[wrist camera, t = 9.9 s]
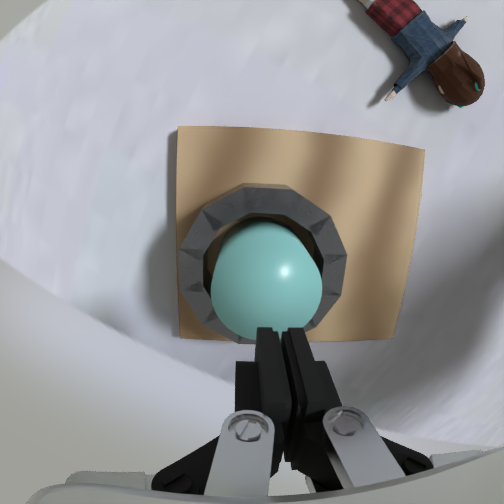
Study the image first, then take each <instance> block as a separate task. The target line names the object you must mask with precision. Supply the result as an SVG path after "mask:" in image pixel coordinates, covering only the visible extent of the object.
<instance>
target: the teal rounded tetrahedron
mask: <svg viewBox="0 0 504 504" xmlns="http://www.w3.org/2000/svg"><path fill="white" fill-rule="evenodd" d="M321 296H322V280H321V276H320V273H319V270H318V268H317V266H316V264H315V263H314V261H313V259H312V258H311V256H310V255H309V253H308V252H307V250H306V249H305V247H304V246H303V244H302V243H301V241H300V240H299V238H298V236H297V235H296V234H295V232H294V231H293V230H292V229H291V228H290V227H289V226H288V225H286V224H285V223H283V222H281V221H280V220H277V219H274V218H270V217H252V218H248V219H245V220H243V221H241V222H239V223H238V224H236V225H235V226H233V227H232V228H231V229H230V230H229V231H228V232H227V234H226V235H225V236H224V238H223V240H222V242H221V245H220V248H219V253H218V257H217V261H216V266H215V270H214V274H213V279H212V283H211V300H212V304H213V307H214V310H215V312H216V314H217V316H218V317H219V319H220V320H221V321H222V323H223V324H224V325H225V326H226V327H227V328H229V329H230V330H231V331H233V332H234V333H236V334H238V335H240V336H242V337H245V338H248V339H252V340H256V333H257V327H272V328H273V331H278V333H279V338H280V339H281V335H282V331H287V329H288V327H304V326H305V325H306V324H307V323H308V322H309V321H310V320H311V318H312V317H313V316H314V314H315V313H316V311H317V309H318V306H319V304H320V301H321Z"/></svg>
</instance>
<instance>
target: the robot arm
mask: <svg viewBox="0 0 504 504" xmlns="http://www.w3.org/2000/svg"><path fill="white" fill-rule="evenodd" d="M283 452H284V459H285V462H291V468H292V470H298V471H300V472H301V473H303V474H305V475H306V476H305V480H306V484H307V486H308V489H309V492H310V494H300V495H287V496H286V495H285V496H268V491H269V481H270V478H271V477H272V476H273V475H274V474H275V473H277V472H278V468H279V463H280V462H281V459H282V454H283ZM26 504H504V447H501V448H495V449H492V450H488V451H484V452H483V451H481V450H471V451H463V452H454V453H445V454H433V455H431V456H430V458H428V457H426V456H425V455H423V454H421V453H419V452H417V451H414V450H412V449H409V448H407V447H405V446H402V445H400V444H397V443H395V442H393V441H390V440H388V439H386V438H384V437H382V436H380V435H379V434H378V432H377V431H376V429H375V428H374V426H373V425H372V423H371V422H370V420H369V418H368V417H367V416H366V415H365V414H364V413H363V412H361V411H360V410H358V409H355V408H353V407H346V406H342V404H341V402H340V399H339V396H338V394H337V391H336V388H335V386H334V383H333V380H332V378H331V375H330V372H329V370H328V367H327V364H326V363H325V361H315V360H314V357H313V354H312V352H311V349H310V346H309V343H308V340H307V337H306V334H305V331H304V328H303V327H288V329H287V331H282V335H281V343H280V338H279V333H278V331H273V328H272V327H257V333H256V348H255V362H246V361H236V373H235V413H233V414H231V415H230V416H228V417H227V418H226V419H225V421H224V423H223V426H222V429H221V433H220V435H219V436H218V437H216V438H215V439H213V440H212V441H210V442H208V443H207V444H205V445H204V446H202V447H200V448H199V449H197V450H195V451H194V452H192V453H190V454H189V455H187V456H185V457H183V458H182V459H180V460H178V461H176V462H175V463H173V464H171V465H170V466H167V467H166V468H164V469H162V470H161V471H160V472H158V473H157V474H156V475H145V473H144V472H96V471H95V472H94V471H80V472H76V473H74V474H71V475H70V476H69V477H68V478H67V480H66V483H65V484H59V485H53V486H49V487H45V488H43V489H41V490H39V491H37V492H36V493H35V494H33V495H32V496H31V497H30V499H29V500H28V501H27V502H26Z"/></svg>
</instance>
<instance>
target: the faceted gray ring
mask: <svg viewBox="0 0 504 504" xmlns="http://www.w3.org/2000/svg"><path fill="white" fill-rule="evenodd" d="M249 213H266V214H284V215H286V216H288V217H289V218H291V219H292V220H294V221H295V222H297V223H298V224H300V225H301V226H303V227H304V228H306V230H307V232H308V235H309V237H310V239H311V241H312V243H313V245H314V252H313V261H314V263H315V264H316V266H317V268H318V270H319V273H320V276H321V280H322V296H321V301H320V304H319V306H318V309H317V311H316V313H315V314H314V316H313V317H312V318H311V320H310V321H309V322H308V323H307V324H306V325H305V326H304V327H303V328H304V331H305V332H307V331H309V330H312V329H314V328H316V327H317V326H318V324H319V323H320V322H321V321H322V319H323V318H324V317H325V316H326V314H327V313H328V312H329V310H330V309H331V308H332V307H333V305H334V304H335V303H336V301H337V300H338V299H339V298H340V296H341V293H342V287H343V281H344V275H345V268H346V261H347V253H346V250H345V248H344V246H343V243H342V241H341V238H340V236H339V234H338V231H337V229H336V227H335V224H334V222H333V220H332V218H331V215H329V214H328V213H326V212H325V211H324V210H322V209H321V208H320V207H318V206H317V205H315V204H314V203H312V202H311V201H309V200H308V199H306V198H305V197H303V196H302V195H301V194H299V193H298V192H296V191H295V190H293V189H292V188H290V187H289V186H287V185H282V184H264V183H242V184H240V185H239V186H237V187H235V188H233V189H231V190H229V191H227V192H225V193H223V194H221V195H219V196H218V197H216V198H214V199H212V200H210V201H208V202H207V203H206V204H205V206H204V207H203V209H202V210H201V212H200V213H199V215H198V217H197V218H196V220H195V222H194V223H193V225H192V227H191V228H190V230H189V232H188V233H187V235H186V237H185V239H184V240H183V242H182V244H181V245H180V247H179V278H180V291H181V293H182V295H183V296H184V298H185V299H186V301H187V302H188V304H189V305H190V307H191V309H192V310H193V312H194V313H195V315H196V316H197V318H198V319H199V321H200V322H201V324H202V325H204V326H205V327H207V328H209V329H211V330H213V331H215V332H217V333H219V334H220V335H222V336H224V337H226V338H228V339H230V340H232V341H234V342H236V343H238V344H256V340H252V339H248V338H245V337H242V336H240V335H238V334H236V333H234V332H233V331H231V330H230V329H229V328H227V327H226V326H225V325H224V324H223V323H222V321H221V320H220V319H219V317H218V316H217V314H216V312H215V310H214V307H213V304H212V300H211V283H212V279H213V277H212V276H211V274H210V272H209V271H208V247H209V245H210V244H211V242H212V240H213V239H214V237H215V236H216V234H217V232H218V231H219V229H220V228H222V227H224V226H225V225H227V224H229V223H231V222H233V221H235V220H237V219H239V218H241V217H243V216H245V215H247V214H249ZM280 343H281V339H280Z"/></svg>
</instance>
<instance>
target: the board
mask: <svg viewBox="0 0 504 504" xmlns="http://www.w3.org/2000/svg"><path fill="white" fill-rule="evenodd" d="M424 158H425V150H424V149H419V148H414V147H409V146H404V145H398V144H393V143H387V142H381V141H375V140H369V139H362V138H356V137H348V136H341V135H333V134H324V133H315V132H305V131H295V130H282V129H268V128H250V127H221V126H178V141H177V175H176V247H177V282H178V304H179V322H180V337H181V338H186V339H202V340H222V341H232V340H230V339H228V338H226V337H224V336H222V335H220V334H219V333H217V332H215V331H213V330H211V329H209V328H207V327H205V326H204V325H202V324H201V322H200V321H199V319H198V318H197V316H196V315H195V313H194V312H193V310H192V309H191V307H190V305H189V304H188V302H187V301H186V299H185V298H184V296H183V295H182V293H181V291H180V278H179V247H180V245H181V244H182V242H183V240H184V239H185V237H186V235H187V233H188V232H189V230H190V228H191V227H192V225H193V223H194V222H195V220H196V218H197V217H198V215H199V213H200V212H201V210H202V209H203V207H204V206H205V204H206V203H207V202H208V201H210V200H212V199H214V198H216V197H218V196H219V195H221V194H223V193H225V192H227V191H229V190H231V189H233V188H235V187H237V186H239V185H240V184H242V183H264V184H282V185H287V186H289V187H290V188H292V189H293V190H295V191H296V192H298V193H299V194H301V195H302V196H303V197H305V198H306V199H308V200H309V201H311V202H312V203H314V204H315V205H317V206H318V207H320V208H321V209H322V210H324V211H325V212H326V213H328V214H329V215H331V218H332V220H333V222H334V224H335V227H336V229H337V231H338V234H339V236H340V238H341V241H342V243H343V246H344V248H345V250H346V253H347V261H346V268H345V275H344V281H343V287H342V293H341V296H340V298H339V299H338V300H337V301H336V303H335V304H334V305H333V307H332V308H331V309H330V310H329V312H328V313H327V314H326V316H325V317H324V318H323V319H322V321H321V322H320V323H319V324H318V326H317V327H316V328H314V329H312V330H309V331H307V332H305V334H306V337H307V340H308V342H326V341H355V340H375V339H391V338H392V337H393V334H394V330H395V327H396V323H397V319H398V315H399V311H400V307H401V303H402V299H403V295H404V291H405V286H406V282H407V277H408V272H409V267H410V262H411V257H412V252H413V246H414V240H415V234H416V228H417V221H418V214H419V207H420V199H421V190H422V181H423V170H424ZM252 217H270V218H274V219H277V220H280V221H281V222H283V223H285V224H286V225H288V226H289V227H290V228H291V229H292V230H293V231H294V232H295V234H296V235H297V236H298V238H299V240H300V241H301V243H302V244H303V246H304V247H305V249H306V250H307V252H308V253H309V255H310V256H311V258H312V259H313V252H314V245H313V243H312V241H311V239H310V237H309V235H308V232H307V230H306V228H304V227H303V226H301V225H300V224H298V223H297V222H295V221H294V220H292V219H291V218H289V217H288V216H286V215H284V214H266V213H249V214H247V215H245V216H243V217H241V218H239V219H237V220H235V221H233V222H231V223H229V224H227V225H225V226H224V227H222V228H220V229H219V231H218V232H217V234H216V236H215V237H214V239H213V240H212V242H211V244H210V245H209V247H208V271H209V272H210V274H211V276H212V277H213V274H214V270H215V266H216V261H217V257H218V253H219V248H220V245H221V242H222V240H223V238H224V236H225V235H226V234H227V232H228V231H229V230H230V229H231V228H232V227H233V226H235V225H236V224H238V223H239V222H241V221H243V220H245V219H248V218H252Z"/></svg>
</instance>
